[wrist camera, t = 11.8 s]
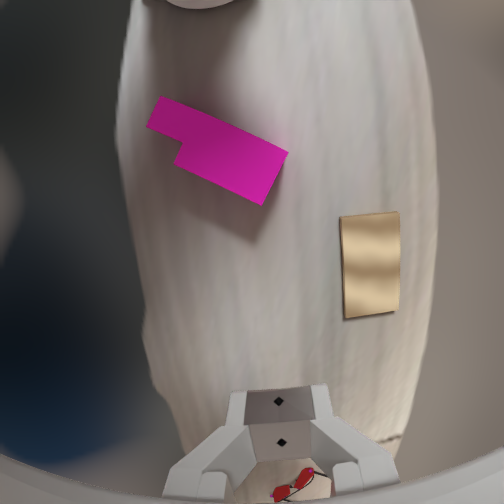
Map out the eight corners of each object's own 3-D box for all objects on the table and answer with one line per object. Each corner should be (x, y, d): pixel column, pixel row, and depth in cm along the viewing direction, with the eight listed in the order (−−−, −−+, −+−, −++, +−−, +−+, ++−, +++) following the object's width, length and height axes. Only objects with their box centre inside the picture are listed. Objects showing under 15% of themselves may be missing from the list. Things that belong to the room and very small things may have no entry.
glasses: (309, 460, 55) (311, 478, 50) (364, 477, 57) (367, 493, 52) (269, 487, 58) (268, 504, 54) (323, 503, 60) (324, 518, 56)
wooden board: (339, 216, 41) (341, 218, 40) (396, 211, 40) (399, 212, 39) (344, 314, 45) (345, 318, 43) (395, 306, 44) (398, 309, 43)
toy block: (261, 205, 34) (262, 197, 41) (288, 152, 32) (285, 153, 39) (136, 147, 33) (158, 148, 40) (160, 95, 31) (178, 105, 38)
